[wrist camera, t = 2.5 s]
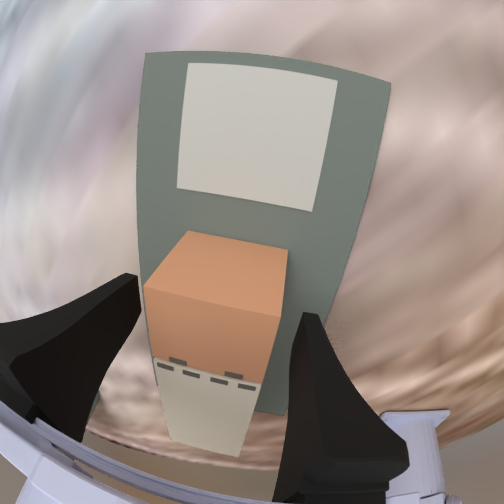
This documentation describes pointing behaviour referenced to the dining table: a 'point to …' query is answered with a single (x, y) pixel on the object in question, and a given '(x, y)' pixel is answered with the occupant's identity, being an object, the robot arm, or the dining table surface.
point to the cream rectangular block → (205, 407)
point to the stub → (217, 305)
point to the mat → (258, 171)
